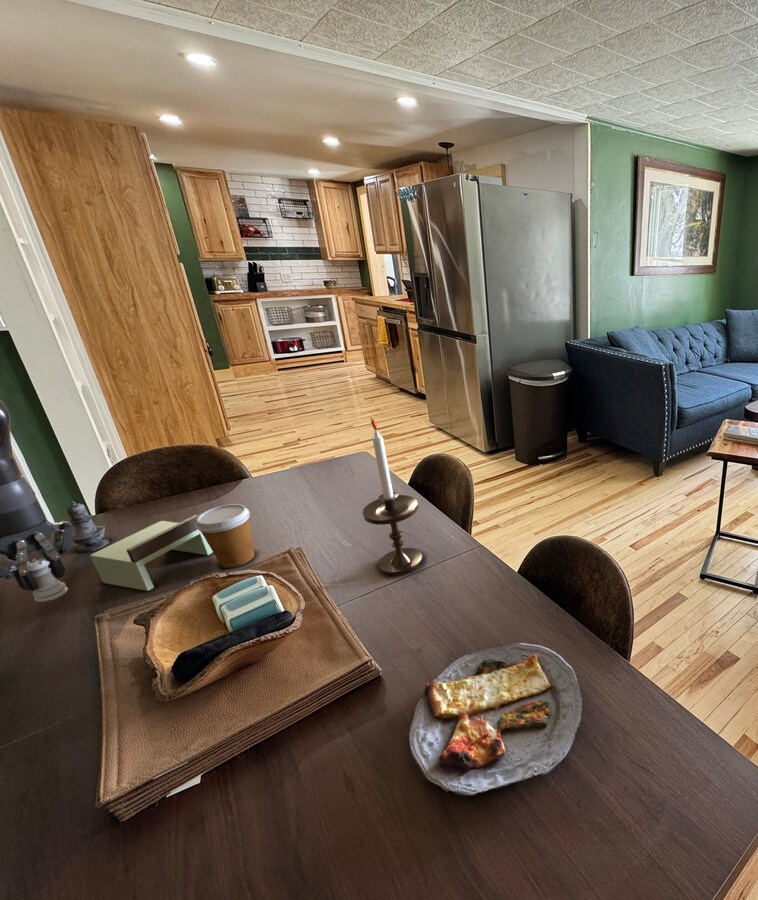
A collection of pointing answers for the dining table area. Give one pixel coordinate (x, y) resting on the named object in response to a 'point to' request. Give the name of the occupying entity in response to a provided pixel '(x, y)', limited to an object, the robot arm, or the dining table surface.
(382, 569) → the candlestick
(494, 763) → the food plate
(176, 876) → the dining table surface
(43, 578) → the rook chess piece
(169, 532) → the shelf
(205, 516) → the disposable coffee cup
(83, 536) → the grey upright piece
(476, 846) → the dining table surface
